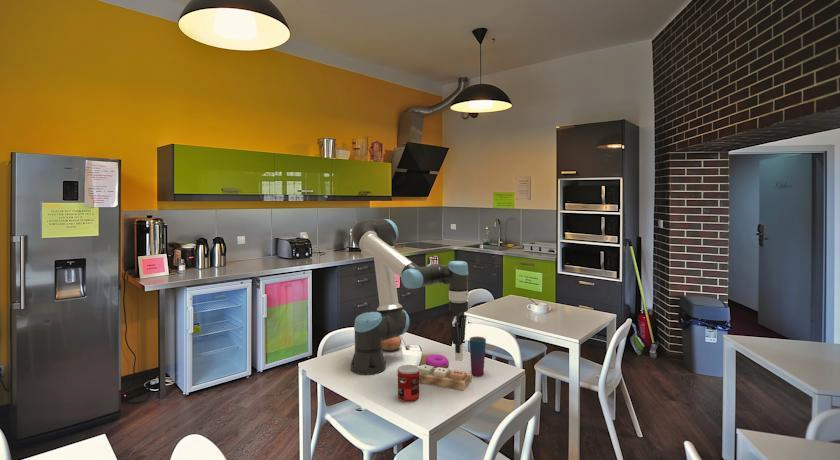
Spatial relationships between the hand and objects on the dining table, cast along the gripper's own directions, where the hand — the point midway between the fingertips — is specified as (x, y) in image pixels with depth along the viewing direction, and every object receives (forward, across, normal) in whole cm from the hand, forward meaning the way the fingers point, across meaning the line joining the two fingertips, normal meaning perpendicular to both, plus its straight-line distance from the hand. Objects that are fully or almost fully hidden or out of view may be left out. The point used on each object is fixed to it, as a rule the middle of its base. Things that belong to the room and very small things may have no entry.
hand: (459, 360), depth 176 cm
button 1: (+7, 0, +14) cm, 16 cm away
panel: (+10, 0, +8) cm, 12 cm away
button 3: (+7, 0, 0) cm, 7 cm away
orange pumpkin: (+9, +26, +44) cm, 52 cm away
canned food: (+10, -19, +13) cm, 25 cm away
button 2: (+7, 0, +7) cm, 10 cm away
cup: (+10, +13, -4) cm, 17 cm away
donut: (+10, +14, +15) cm, 23 cm away
